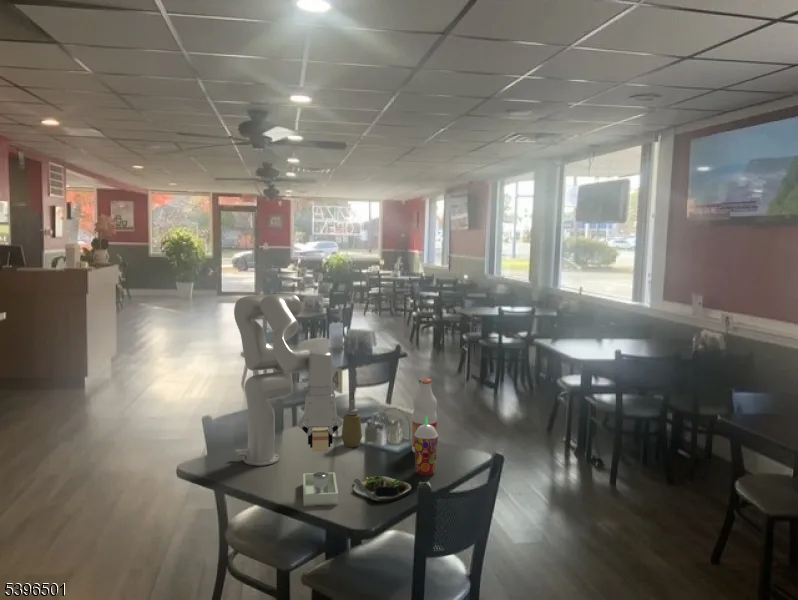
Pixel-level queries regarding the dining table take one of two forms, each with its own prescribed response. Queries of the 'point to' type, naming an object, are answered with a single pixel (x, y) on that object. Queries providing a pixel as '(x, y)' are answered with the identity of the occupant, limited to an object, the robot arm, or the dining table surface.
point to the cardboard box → (320, 439)
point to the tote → (319, 498)
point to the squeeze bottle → (351, 427)
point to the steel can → (320, 482)
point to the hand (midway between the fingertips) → (320, 445)
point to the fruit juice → (424, 408)
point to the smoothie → (425, 449)
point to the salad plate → (382, 489)
